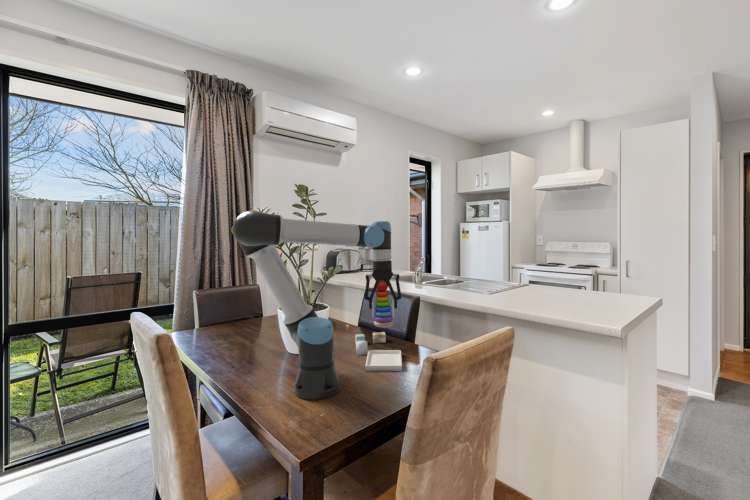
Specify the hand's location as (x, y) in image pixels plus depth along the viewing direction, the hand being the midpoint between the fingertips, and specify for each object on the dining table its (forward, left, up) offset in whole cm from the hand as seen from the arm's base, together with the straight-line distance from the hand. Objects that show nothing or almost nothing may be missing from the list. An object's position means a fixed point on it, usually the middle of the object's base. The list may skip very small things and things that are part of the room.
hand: (383, 316), depth 143 cm
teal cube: (-12, +25, -19) cm, 34 cm away
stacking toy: (0, 0, -4) cm, 4 cm away
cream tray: (0, 0, -19) cm, 19 cm away
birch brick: (-3, +28, -19) cm, 34 cm away
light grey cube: (-10, +11, -19) cm, 24 cm away
